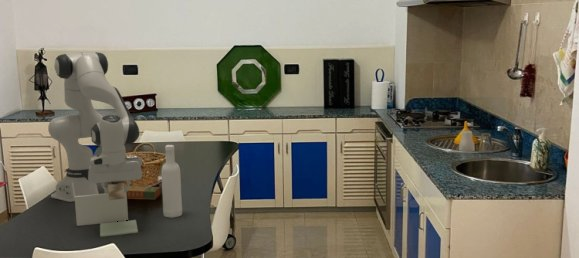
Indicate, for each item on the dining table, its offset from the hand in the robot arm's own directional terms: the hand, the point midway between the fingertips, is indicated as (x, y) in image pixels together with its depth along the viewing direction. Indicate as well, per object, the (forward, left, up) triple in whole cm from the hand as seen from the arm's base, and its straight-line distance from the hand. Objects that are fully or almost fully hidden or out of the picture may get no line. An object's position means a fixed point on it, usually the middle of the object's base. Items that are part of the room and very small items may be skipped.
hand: (116, 192), depth 229 cm
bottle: (+10, +22, -15) cm, 29 cm away
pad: (0, 0, -15) cm, 15 cm away
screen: (-11, +4, -15) cm, 19 cm away
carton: (-19, +40, -16) cm, 47 cm away
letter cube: (0, 0, -2) cm, 2 cm away
